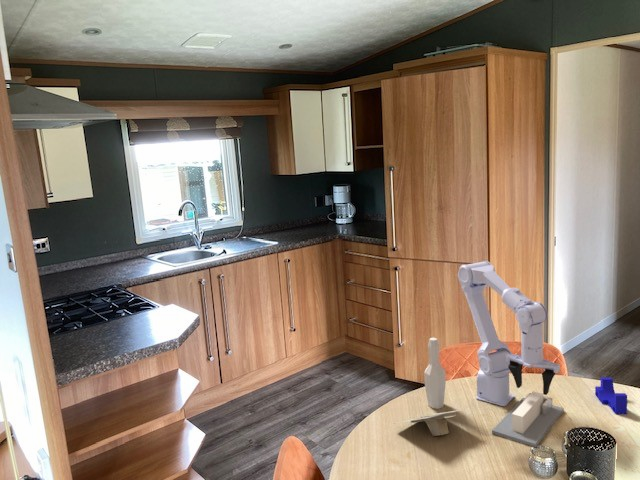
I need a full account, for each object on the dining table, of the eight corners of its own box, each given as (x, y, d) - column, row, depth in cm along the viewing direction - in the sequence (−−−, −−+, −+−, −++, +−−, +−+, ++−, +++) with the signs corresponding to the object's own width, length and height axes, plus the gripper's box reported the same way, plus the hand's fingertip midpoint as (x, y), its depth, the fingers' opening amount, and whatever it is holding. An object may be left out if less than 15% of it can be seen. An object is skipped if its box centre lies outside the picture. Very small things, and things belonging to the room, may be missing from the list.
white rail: (512, 430, 146) (511, 413, 145) (533, 406, 158) (532, 391, 157) (522, 433, 144) (522, 416, 143) (543, 409, 156) (543, 393, 155)
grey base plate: (492, 433, 147) (491, 420, 146) (523, 400, 164) (523, 388, 163) (535, 447, 139) (535, 433, 138) (563, 411, 156) (563, 398, 155)
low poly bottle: (440, 411, 161) (437, 344, 157) (422, 406, 165) (418, 340, 161) (450, 403, 166) (447, 337, 162) (432, 398, 170) (429, 334, 166)
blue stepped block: (595, 395, 164) (595, 377, 163) (610, 395, 163) (611, 377, 162) (610, 414, 152) (610, 395, 151) (626, 414, 151) (627, 395, 150)
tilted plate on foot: (402, 453, 148) (432, 437, 137) (391, 423, 152) (419, 405, 142) (445, 442, 156) (477, 426, 146) (434, 413, 161) (463, 396, 150)
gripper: (501, 344, 150) (502, 388, 153) (553, 355, 140) (553, 402, 143) (511, 337, 155) (511, 379, 158) (562, 346, 146) (562, 392, 148)
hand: (532, 389), depth 151 cm, fingers open, 7 cm apart
